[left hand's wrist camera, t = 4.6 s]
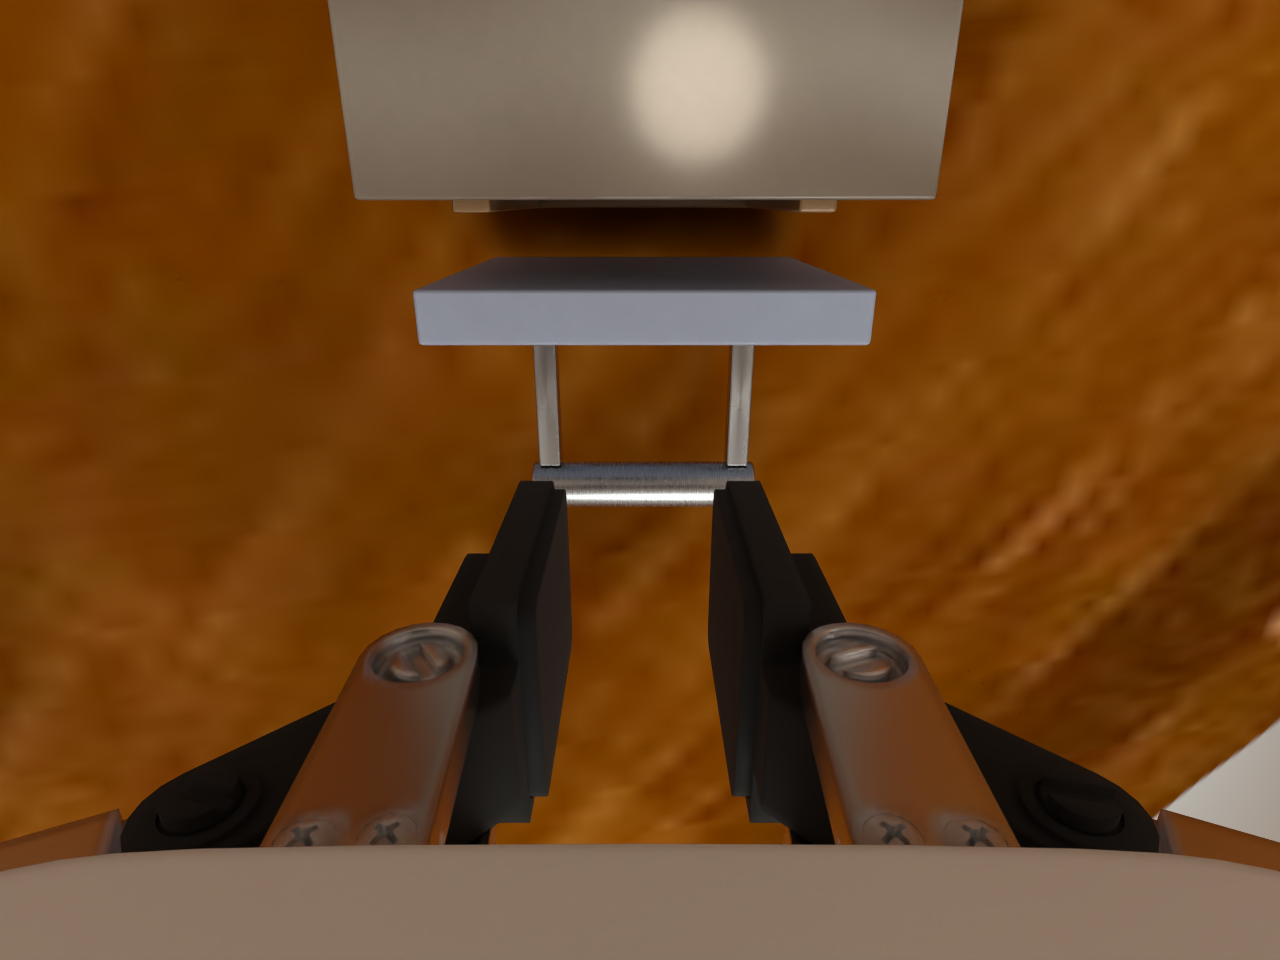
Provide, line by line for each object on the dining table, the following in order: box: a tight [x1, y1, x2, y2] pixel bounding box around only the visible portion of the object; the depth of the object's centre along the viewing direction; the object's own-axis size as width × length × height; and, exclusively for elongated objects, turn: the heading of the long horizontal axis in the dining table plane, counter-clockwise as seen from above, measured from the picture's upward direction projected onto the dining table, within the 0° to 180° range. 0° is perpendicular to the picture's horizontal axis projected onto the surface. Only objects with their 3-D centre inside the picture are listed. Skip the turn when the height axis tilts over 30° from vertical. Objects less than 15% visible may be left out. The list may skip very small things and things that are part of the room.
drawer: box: [413, 200, 876, 506], centre depth 18 cm, size 24×10×9 cm, turn 0°
